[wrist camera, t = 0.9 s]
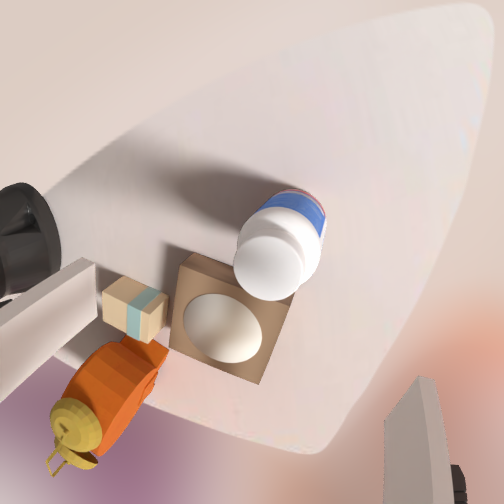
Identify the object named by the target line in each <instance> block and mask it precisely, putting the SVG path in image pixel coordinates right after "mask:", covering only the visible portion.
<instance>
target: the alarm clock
mask: <svg viewBox="0 0 504 504" xmlns="http://www.w3.org/2000/svg"><path fill="white" fill-rule="evenodd" d="M168 352H169V350H168V349H167V348H165V347H164V346H162V345H161V344H159V343H158V342H156V341H155V340H153V339H152V340H151V341H150V342H149V343H148V344H146V343H144V342H142V341H138V340H136V339H134V338H132V337H130V336H129V335H127V334H126V336H125V337H124V338H123V339H122V341H121V342H120V343H117V342H109V343H107V344H105V345H103V346H101V347H100V348H99V349H98V350H96V351H95V352H94V353H93V354H92V355H91V356H90V357H89V358H88V359H87V360H86V361H85V362H84V363H83V364H82V365H81V367H80V368H79V369H78V371H77V372H76V373H75V375H74V376H73V378H72V379H71V380H70V382H69V384H68V386H67V388H66V389H65V391H64V393H63V395H62V397H61V399H60V400H59V401H57V402H56V403H55V405H54V406H53V408H52V410H51V413H50V422H51V428H52V430H53V432H54V434H55V440H54V443H55V448H56V449H55V450H54V451H53V453H52V454H51V455H50V456H49V458H48V459H47V460H46V464H47V467H48V469H49V472H50V474H51V476H52V477H54V476H55V475H56V474H57V473H58V472H59V470H60V469H61V468H62V467H63V465H65V463H67V464H68V465H70V464H72V465H74V466H76V467H78V468H81V469H85V470H87V469H92V468H93V467H95V466H96V465H97V464H98V461H97V459H96V458H95V457H94V456H93V455H92V454H91V453H90V452H89V451H92V452H93V453H94V454H96V455H97V456H102V455H103V454H104V453H105V452H106V451H108V449H109V448H110V447H111V446H112V445H113V444H114V443H115V441H116V440H117V439H118V438H119V436H120V435H121V434H122V432H123V431H124V430H125V428H126V427H127V425H128V424H129V423H130V421H131V420H132V418H133V417H134V415H135V413H136V412H137V410H138V409H139V407H140V405H141V404H142V402H143V401H144V399H145V398H146V397H147V396H148V395H149V394H150V393H151V391H152V389H153V387H154V385H155V384H154V381H155V379H156V377H157V374H158V372H157V371H158V370H159V368H160V367H161V365H162V364H163V362H164V361H165V359H166V357H167V354H168ZM57 452H58V453H59V454H60V455H61V456H62V457H63V458H64V459H65V460H66V461H64V462H63V463H62V464H61V465H60V466H59V468H58V469H57V470H56V471H55V472H54V473H53V474H52V473H51V470H50V467H49V464H48V463H49V461H50V460H51V459H52V458H53V456H54V455H55V454H56V453H57Z"/></svg>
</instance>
